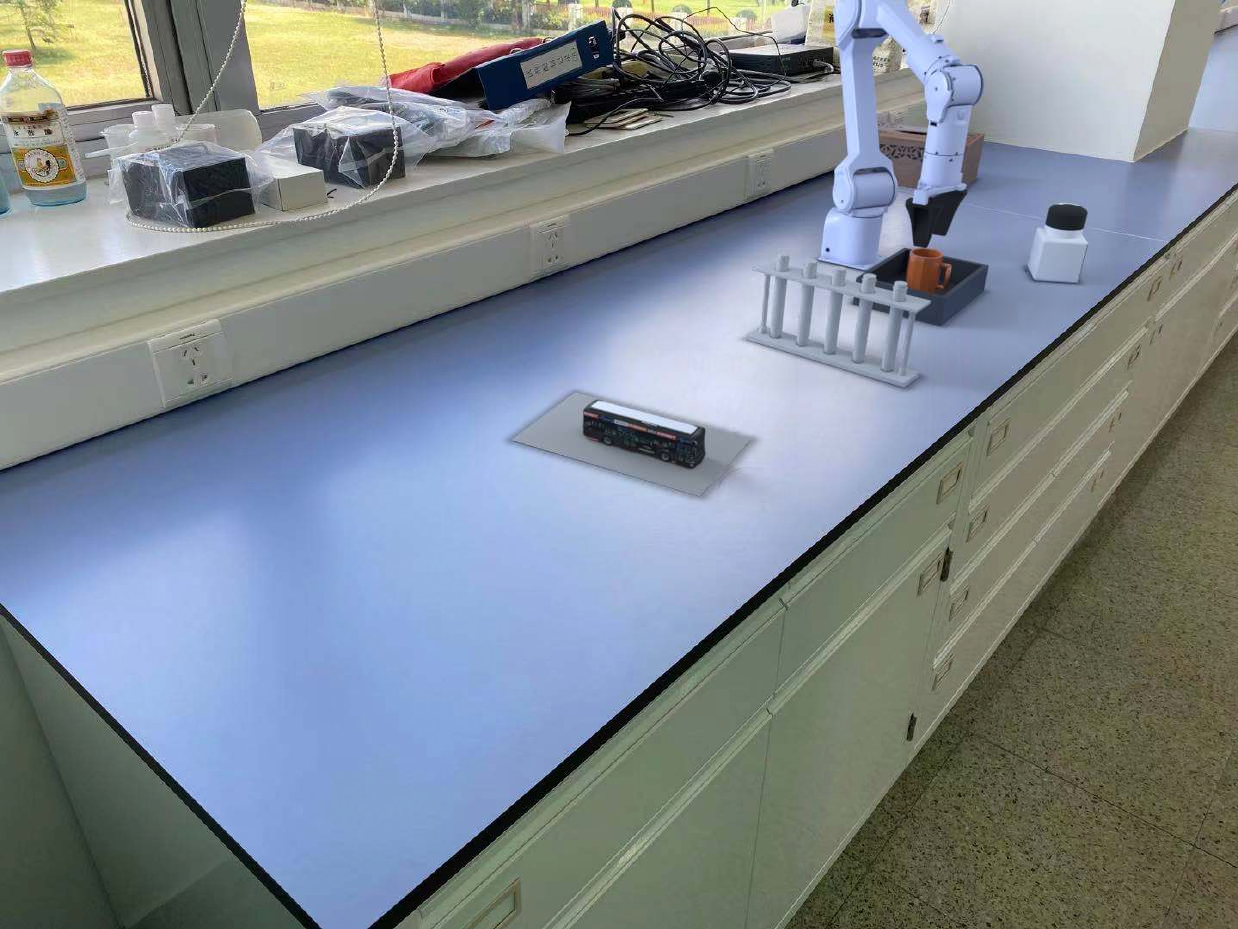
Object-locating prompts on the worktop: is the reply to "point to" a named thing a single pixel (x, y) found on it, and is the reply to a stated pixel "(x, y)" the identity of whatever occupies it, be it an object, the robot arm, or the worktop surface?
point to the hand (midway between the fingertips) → (929, 240)
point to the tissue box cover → (921, 152)
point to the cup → (926, 270)
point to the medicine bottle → (1059, 245)
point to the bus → (635, 442)
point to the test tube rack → (838, 319)
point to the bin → (945, 304)
